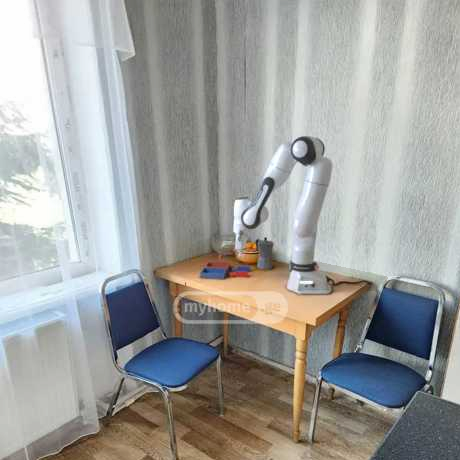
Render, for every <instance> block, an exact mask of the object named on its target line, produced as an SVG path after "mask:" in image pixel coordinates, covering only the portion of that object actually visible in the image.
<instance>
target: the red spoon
mask: <svg viewBox="0 0 460 460" xmlns="http://www.w3.org/2000/svg"><path fill="white" fill-rule="evenodd" d="M228 277H231V278H234V277H243V278H248V277H249V272H248V271H234V272H229V273H228Z"/></svg>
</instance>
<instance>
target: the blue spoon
mask: <svg viewBox="0 0 460 460" xmlns="http://www.w3.org/2000/svg"><path fill="white" fill-rule="evenodd" d="M231 271H232V272H235V271H247V272H248V273H249V272H251V266H249V265H237V267H232V268H231Z"/></svg>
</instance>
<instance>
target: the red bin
mask: <svg viewBox="0 0 460 460" xmlns="http://www.w3.org/2000/svg"><path fill="white" fill-rule="evenodd" d="M204 268H222V269H227V273H228V272H229V270H230V269H231V262H224V261H207V263H206V264H205V266H204Z"/></svg>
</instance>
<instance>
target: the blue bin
mask: <svg viewBox="0 0 460 460" xmlns="http://www.w3.org/2000/svg"><path fill="white" fill-rule="evenodd" d="M227 274H228V272H227V269H222V268H205V267H203V269H202V270H201V271H200V273H199V276H200V279H212V280H213V279H215V280H225V278H226V277H227Z"/></svg>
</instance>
